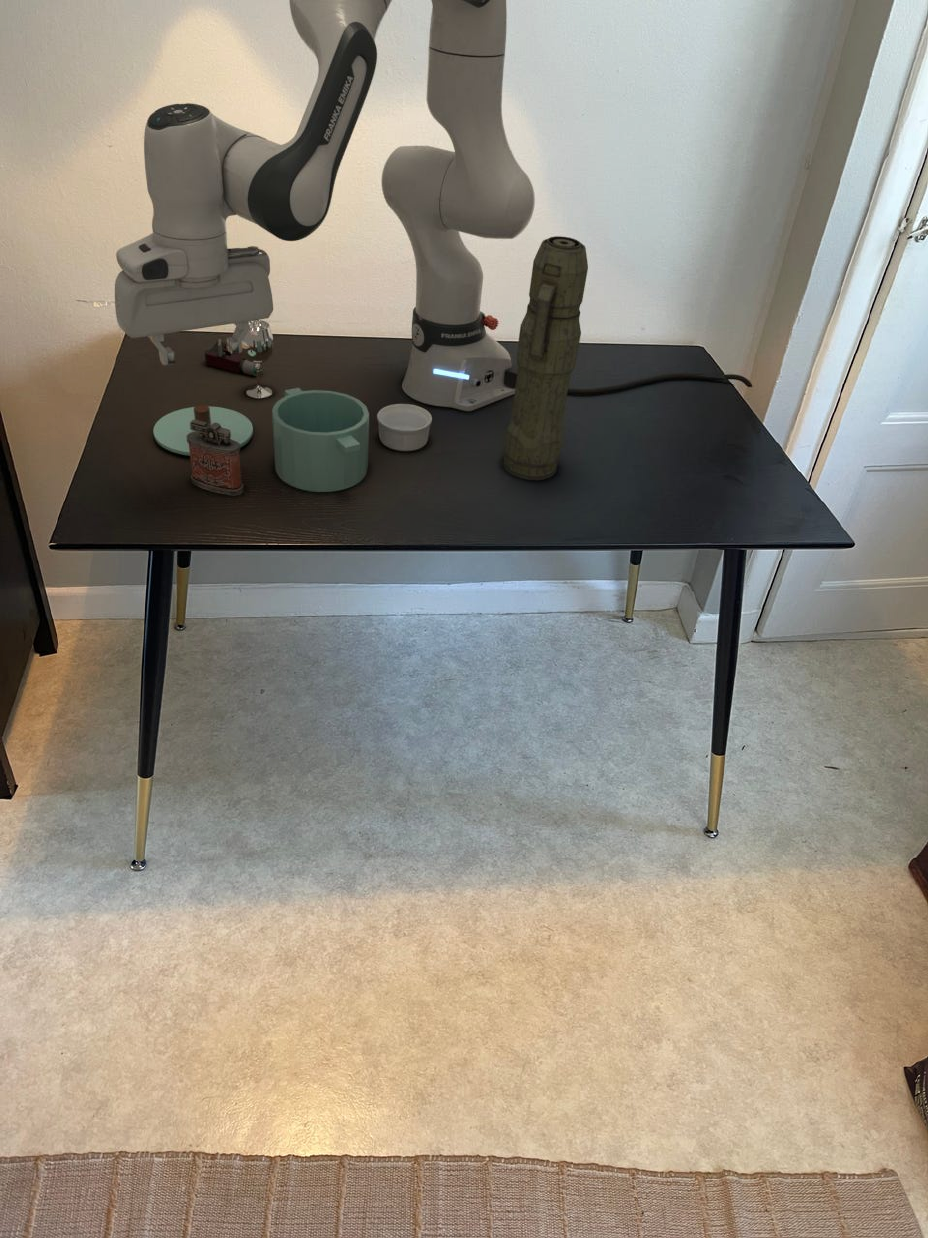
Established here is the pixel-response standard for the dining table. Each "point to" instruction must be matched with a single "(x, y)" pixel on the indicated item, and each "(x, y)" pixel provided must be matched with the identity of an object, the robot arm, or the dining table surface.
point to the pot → (320, 440)
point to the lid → (177, 423)
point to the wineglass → (258, 353)
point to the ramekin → (404, 426)
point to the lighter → (214, 458)
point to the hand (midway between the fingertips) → (202, 357)
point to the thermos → (546, 358)
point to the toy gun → (228, 360)
